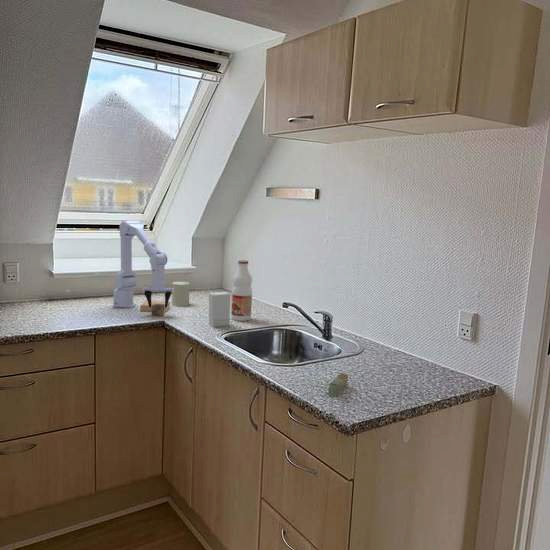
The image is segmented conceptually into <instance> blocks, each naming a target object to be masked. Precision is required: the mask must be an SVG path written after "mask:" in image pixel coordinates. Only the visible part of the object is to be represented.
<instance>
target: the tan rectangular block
mask: <svg viewBox="0 0 550 550" xmlns="http://www.w3.org/2000/svg"><path fill="white" fill-rule="evenodd" d="M153 304H164V313H166V312H165V311H166V310H167V309H168V308H169V307H170V308H171V301H168V305H167V308H165V300H163V301H162V300H151V307H149V304H148V301H147V300H146V301H144V302H142V303H141V304H139V305H140V312H147V311H151V309H152V305H153ZM170 308H169V309H170ZM169 309H168V310H169ZM168 310H167V311H168Z"/></svg>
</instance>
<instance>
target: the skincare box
mask: <svg viewBox="0 0 550 550" xmlns="http://www.w3.org/2000/svg"><path fill="white" fill-rule="evenodd" d="M230 302H231V294H230V293H229V292H227V291H216V292H209V293H208V325H209V326H210V327H212V328H218V327H227V326H229V327H230V323H231V322H230V320H231V314H230V313H231V311H230V310H231V309H230V307H231V303H230Z"/></svg>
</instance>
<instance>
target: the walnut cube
mask: <svg viewBox="0 0 550 550" xmlns="http://www.w3.org/2000/svg"><path fill="white" fill-rule="evenodd" d="M150 313H151V315H153V316H152V317H163V316H164V315H165V312H164V304H153V305H152V309H151V312H150ZM163 314H164V315H163ZM151 315H150V316H151ZM162 315H163V316H162Z"/></svg>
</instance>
